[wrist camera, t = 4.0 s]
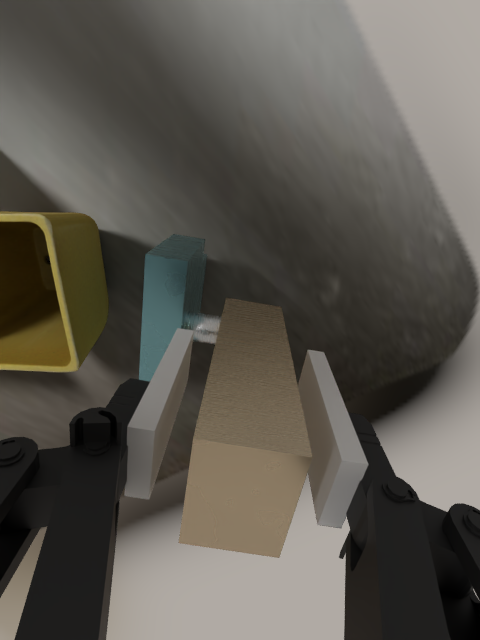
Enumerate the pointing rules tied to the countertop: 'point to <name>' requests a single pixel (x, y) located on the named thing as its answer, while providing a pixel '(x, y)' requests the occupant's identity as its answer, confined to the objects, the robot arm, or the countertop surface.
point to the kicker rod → (230, 407)
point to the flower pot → (50, 290)
